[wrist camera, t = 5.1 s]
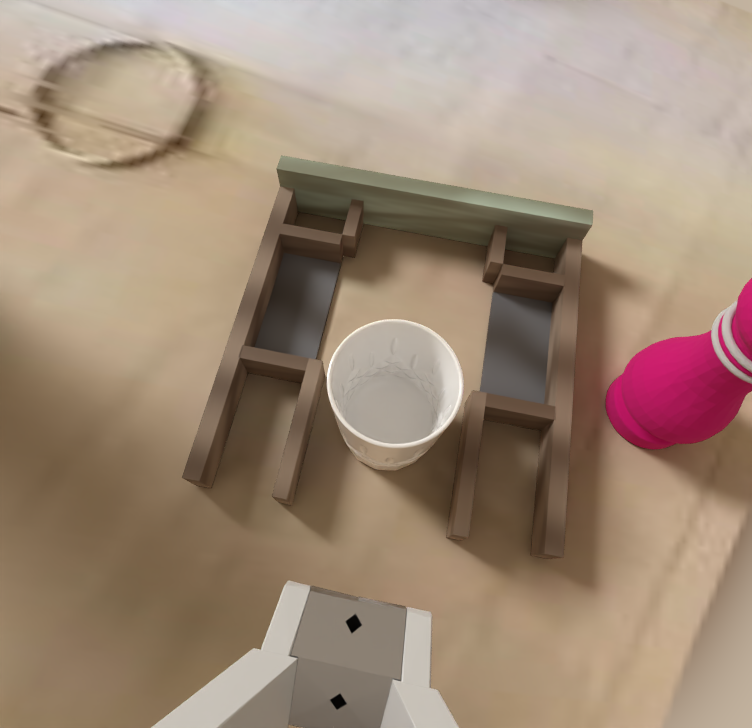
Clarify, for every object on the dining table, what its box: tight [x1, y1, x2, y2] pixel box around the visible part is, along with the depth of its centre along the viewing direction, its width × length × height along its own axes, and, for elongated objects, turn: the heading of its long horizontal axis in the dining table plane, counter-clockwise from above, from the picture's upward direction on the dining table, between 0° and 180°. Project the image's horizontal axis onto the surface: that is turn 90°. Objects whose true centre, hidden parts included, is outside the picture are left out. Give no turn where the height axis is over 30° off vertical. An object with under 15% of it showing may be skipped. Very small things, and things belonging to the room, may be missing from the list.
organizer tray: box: [182, 156, 593, 559], centre depth 39 cm, size 26×25×5 cm
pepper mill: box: [606, 278, 752, 449], centre depth 31 cm, size 7×7×20 cm
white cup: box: [327, 319, 464, 470], centre depth 35 cm, size 8×8×10 cm
